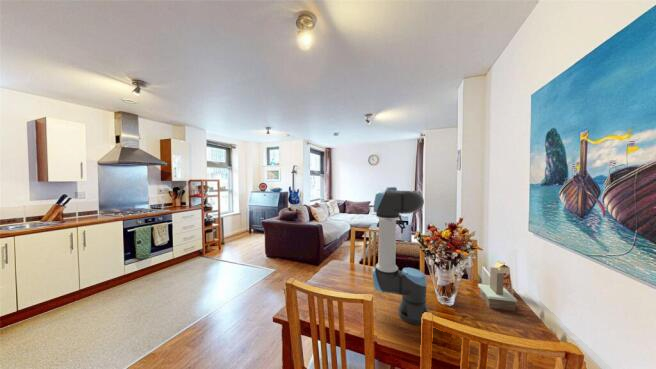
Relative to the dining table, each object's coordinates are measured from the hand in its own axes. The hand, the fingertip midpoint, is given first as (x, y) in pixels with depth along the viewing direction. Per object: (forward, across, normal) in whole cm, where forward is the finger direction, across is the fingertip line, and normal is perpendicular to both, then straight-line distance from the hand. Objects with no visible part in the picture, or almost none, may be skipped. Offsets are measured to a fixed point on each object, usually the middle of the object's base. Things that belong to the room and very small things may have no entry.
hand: (390, 237), depth 166 cm
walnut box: (+28, -57, +25) cm, 68 cm away
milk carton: (+28, -67, +10) cm, 73 cm away
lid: (+22, -57, +25) cm, 66 cm away
